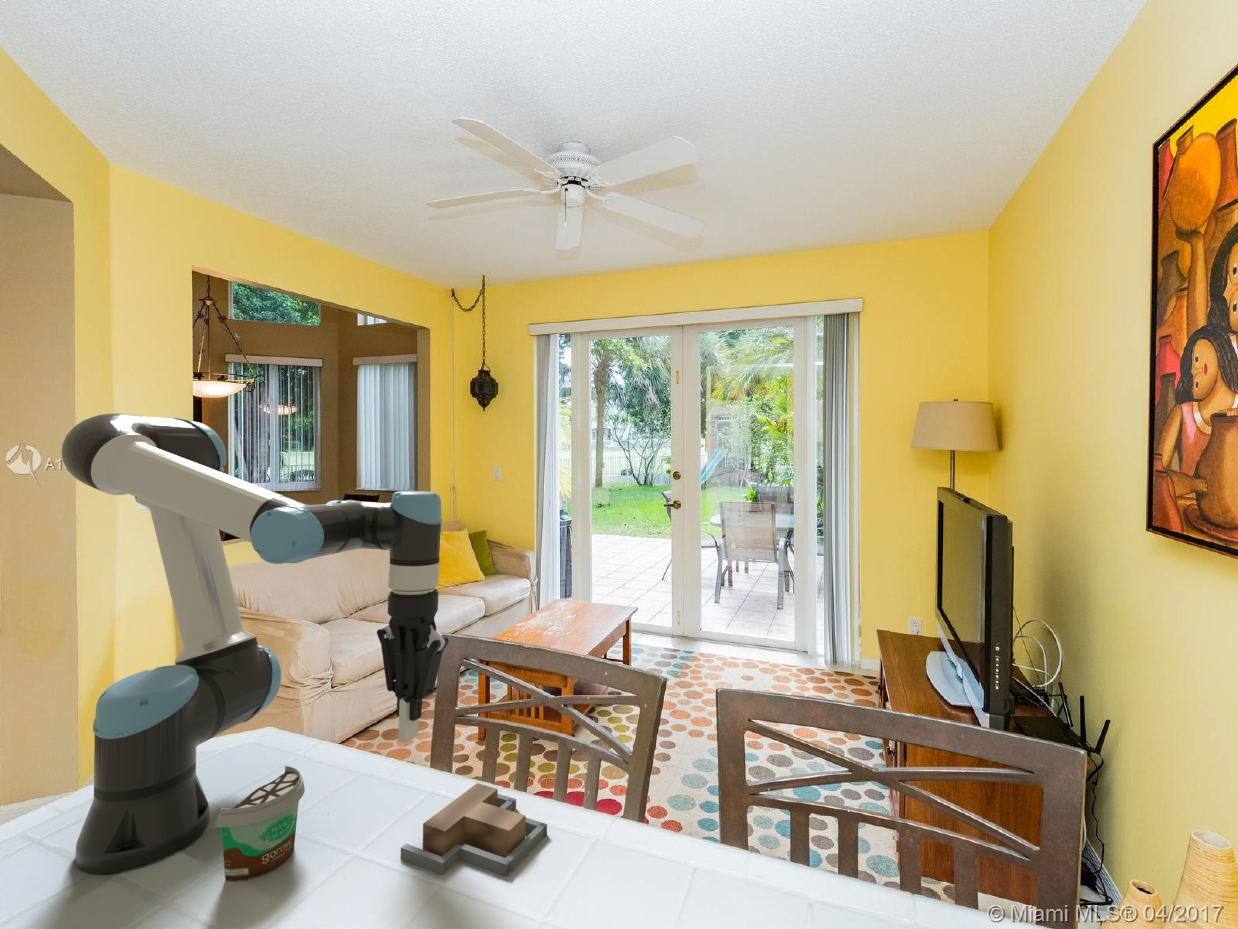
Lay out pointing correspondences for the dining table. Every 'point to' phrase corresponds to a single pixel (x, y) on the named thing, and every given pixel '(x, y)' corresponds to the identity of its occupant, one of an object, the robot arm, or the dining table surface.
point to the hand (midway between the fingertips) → (408, 738)
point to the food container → (261, 828)
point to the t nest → (476, 855)
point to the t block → (475, 824)
